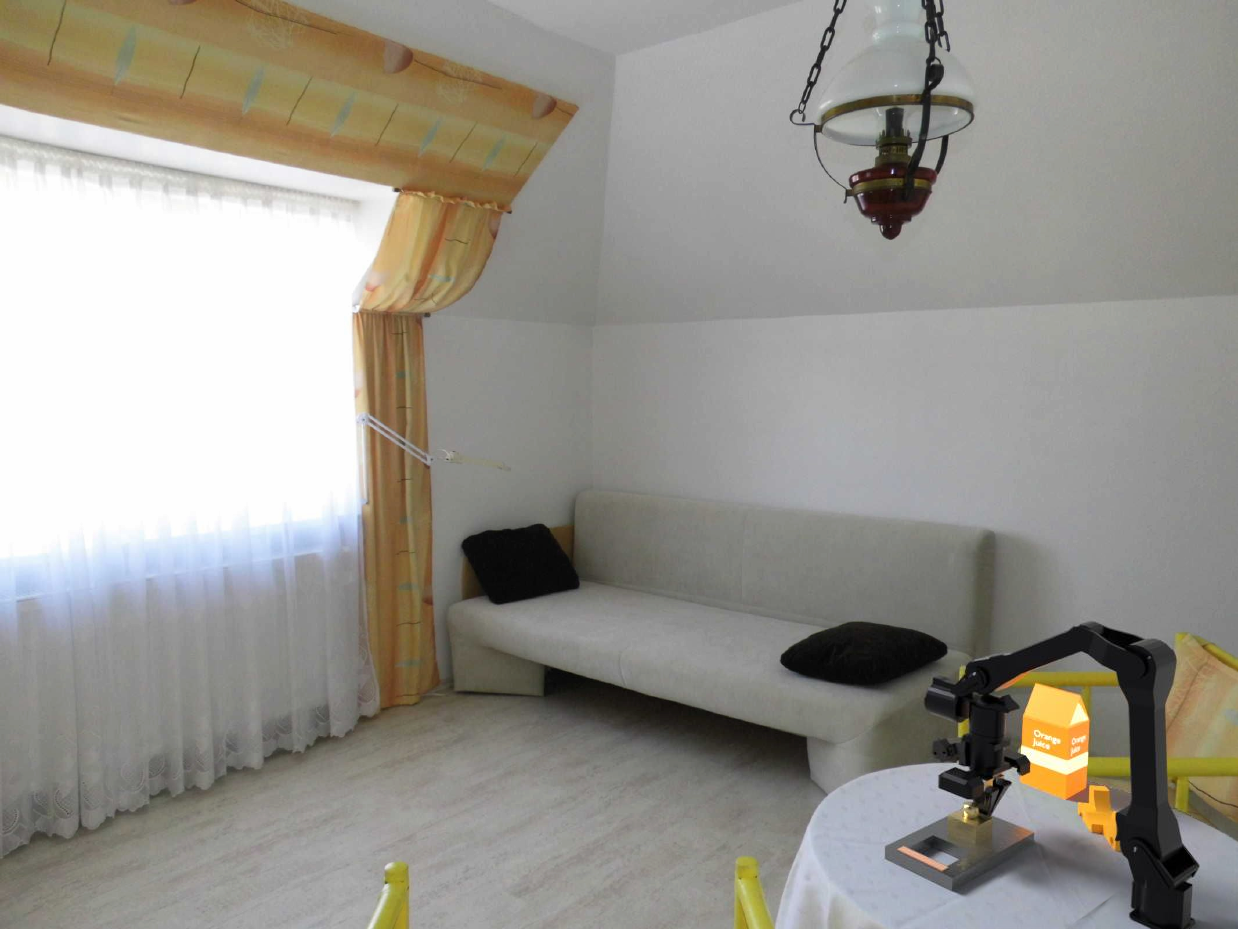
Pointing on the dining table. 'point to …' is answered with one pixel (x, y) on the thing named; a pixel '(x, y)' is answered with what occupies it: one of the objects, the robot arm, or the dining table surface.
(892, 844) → the dark grey slab
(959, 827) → the gold block with knob
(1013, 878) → the dining table surface
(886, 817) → the dining table surface
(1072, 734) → the orange juice
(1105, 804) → the pipe clamp
